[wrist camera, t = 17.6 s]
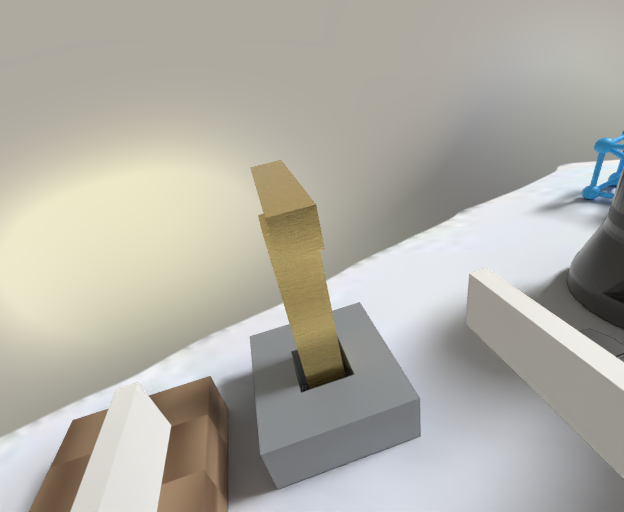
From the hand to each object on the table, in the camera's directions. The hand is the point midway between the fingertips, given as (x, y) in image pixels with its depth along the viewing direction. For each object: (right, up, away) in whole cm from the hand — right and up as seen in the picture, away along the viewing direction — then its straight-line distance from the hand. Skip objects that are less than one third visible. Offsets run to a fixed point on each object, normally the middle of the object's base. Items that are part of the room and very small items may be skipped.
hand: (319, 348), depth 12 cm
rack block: (+1, -10, +17) cm, 20 cm away
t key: (+1, -10, +17) cm, 20 cm away
